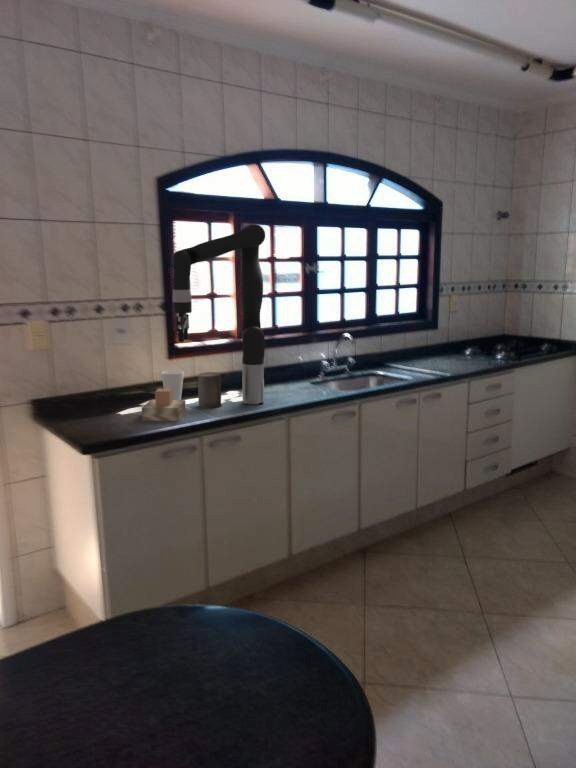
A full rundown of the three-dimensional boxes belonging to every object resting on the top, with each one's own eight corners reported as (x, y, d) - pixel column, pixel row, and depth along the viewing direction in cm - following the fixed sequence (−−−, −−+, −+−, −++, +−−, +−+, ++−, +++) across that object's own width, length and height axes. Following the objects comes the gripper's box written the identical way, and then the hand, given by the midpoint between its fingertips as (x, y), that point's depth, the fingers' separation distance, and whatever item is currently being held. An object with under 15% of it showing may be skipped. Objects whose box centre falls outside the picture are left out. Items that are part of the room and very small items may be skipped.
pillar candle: (225, 404, 246) (224, 369, 244) (214, 409, 238) (213, 373, 235) (205, 402, 250) (204, 368, 247) (194, 407, 241) (192, 372, 238)
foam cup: (162, 404, 245) (161, 374, 243) (161, 399, 254) (160, 370, 252) (185, 403, 248) (184, 373, 245) (183, 398, 257) (182, 370, 254)
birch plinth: (185, 412, 232) (185, 400, 231) (178, 420, 218) (178, 408, 217) (151, 411, 232) (150, 399, 231) (142, 420, 219) (141, 407, 218)
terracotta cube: (172, 402, 227) (172, 388, 226) (169, 405, 222) (169, 391, 221) (158, 402, 227) (158, 388, 226) (155, 405, 222) (155, 391, 221)
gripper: (188, 301, 225) (189, 342, 229) (194, 300, 239) (195, 338, 242) (169, 301, 225) (170, 342, 229) (176, 300, 239) (177, 338, 243)
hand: (183, 340), depth 236 cm, fingers open, 8 cm apart
